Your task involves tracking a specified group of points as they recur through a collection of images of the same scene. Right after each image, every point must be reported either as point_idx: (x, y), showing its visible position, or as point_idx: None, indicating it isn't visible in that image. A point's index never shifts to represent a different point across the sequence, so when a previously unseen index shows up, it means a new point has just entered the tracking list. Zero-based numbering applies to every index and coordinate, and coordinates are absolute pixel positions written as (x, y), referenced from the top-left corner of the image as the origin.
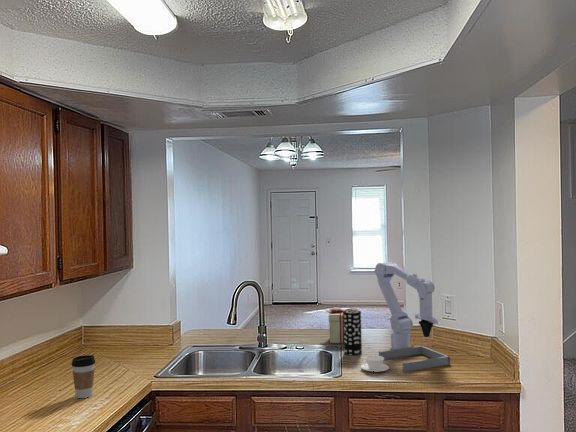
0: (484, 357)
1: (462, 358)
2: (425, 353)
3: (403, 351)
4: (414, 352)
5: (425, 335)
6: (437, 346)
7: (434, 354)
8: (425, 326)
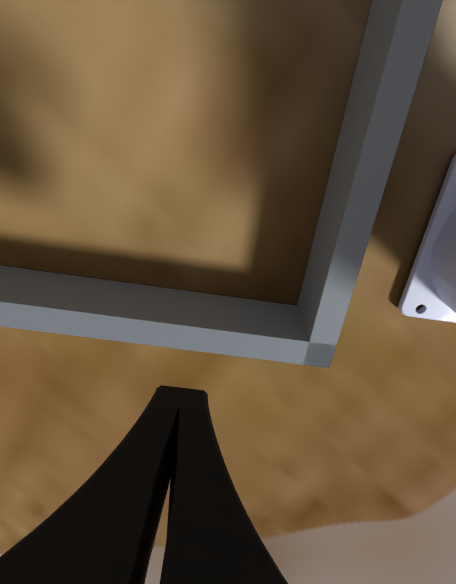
0: (5, 545)
1: (37, 449)
2: (235, 306)
3: (368, 89)
4: (319, 240)
5: (152, 400)
6: (359, 515)
7: (88, 298)
8: (3, 560)
